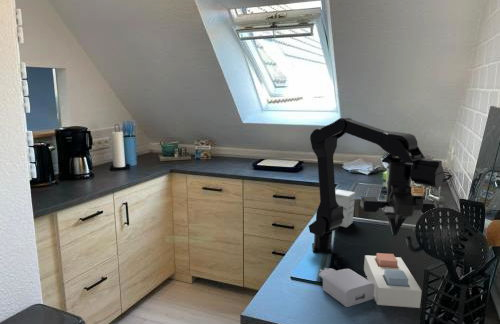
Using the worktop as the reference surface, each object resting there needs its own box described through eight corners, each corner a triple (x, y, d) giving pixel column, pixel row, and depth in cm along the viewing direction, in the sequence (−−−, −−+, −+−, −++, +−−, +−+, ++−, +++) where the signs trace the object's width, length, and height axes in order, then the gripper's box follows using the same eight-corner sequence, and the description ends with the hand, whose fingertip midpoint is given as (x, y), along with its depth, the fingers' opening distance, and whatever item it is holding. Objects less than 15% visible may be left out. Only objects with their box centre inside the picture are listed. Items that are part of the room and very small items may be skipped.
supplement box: (328, 224, 148) (330, 192, 145) (335, 218, 154) (337, 188, 151) (346, 228, 144) (348, 196, 141) (353, 222, 150) (355, 191, 147)
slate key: (383, 285, 98) (384, 269, 97) (401, 286, 98) (403, 270, 97) (387, 294, 94) (388, 278, 93) (406, 296, 93) (408, 279, 92)
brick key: (375, 267, 108) (376, 253, 107) (391, 268, 108) (393, 254, 107) (378, 275, 104) (380, 260, 103) (396, 276, 103) (397, 261, 102)
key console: (363, 269, 111) (364, 255, 110) (399, 272, 109) (400, 257, 109) (377, 304, 93) (378, 287, 92) (419, 307, 92) (421, 290, 91)
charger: (334, 273, 108) (373, 299, 95) (308, 280, 104) (345, 308, 91) (335, 258, 107) (375, 282, 94) (309, 264, 103) (346, 290, 90)
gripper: (369, 186, 96) (365, 244, 98) (447, 189, 93) (440, 249, 96) (361, 176, 106) (358, 229, 109) (431, 179, 104) (425, 232, 107)
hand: (394, 235), depth 105 cm, fingers closed
